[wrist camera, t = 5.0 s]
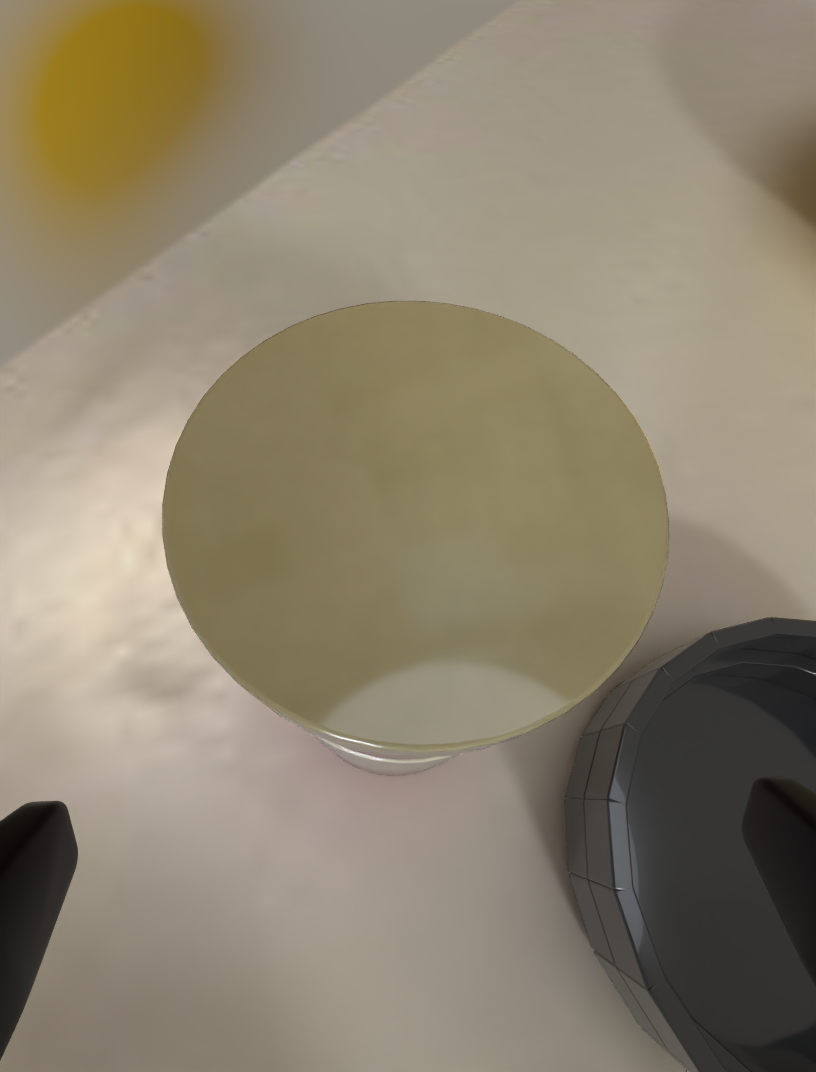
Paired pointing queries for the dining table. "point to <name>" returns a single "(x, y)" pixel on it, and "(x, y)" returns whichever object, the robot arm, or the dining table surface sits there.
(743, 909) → the pan
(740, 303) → the dining table surface
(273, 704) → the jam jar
